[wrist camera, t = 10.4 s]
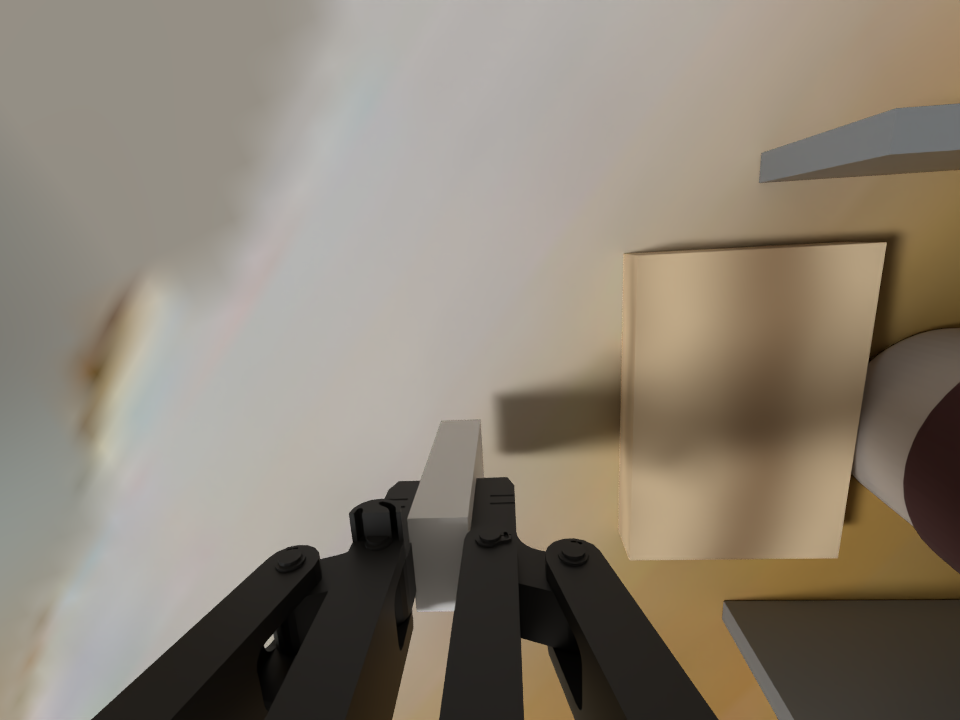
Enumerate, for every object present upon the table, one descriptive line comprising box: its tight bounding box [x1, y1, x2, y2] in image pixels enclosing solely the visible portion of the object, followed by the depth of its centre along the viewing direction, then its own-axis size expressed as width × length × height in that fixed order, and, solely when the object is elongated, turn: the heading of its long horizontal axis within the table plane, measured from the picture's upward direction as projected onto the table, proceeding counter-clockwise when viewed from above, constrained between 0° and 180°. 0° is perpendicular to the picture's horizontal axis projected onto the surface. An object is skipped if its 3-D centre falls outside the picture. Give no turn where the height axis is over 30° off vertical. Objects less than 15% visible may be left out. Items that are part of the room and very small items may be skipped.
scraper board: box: [618, 242, 887, 560], centre depth 18 cm, size 8×12×2 cm, turn 3°
